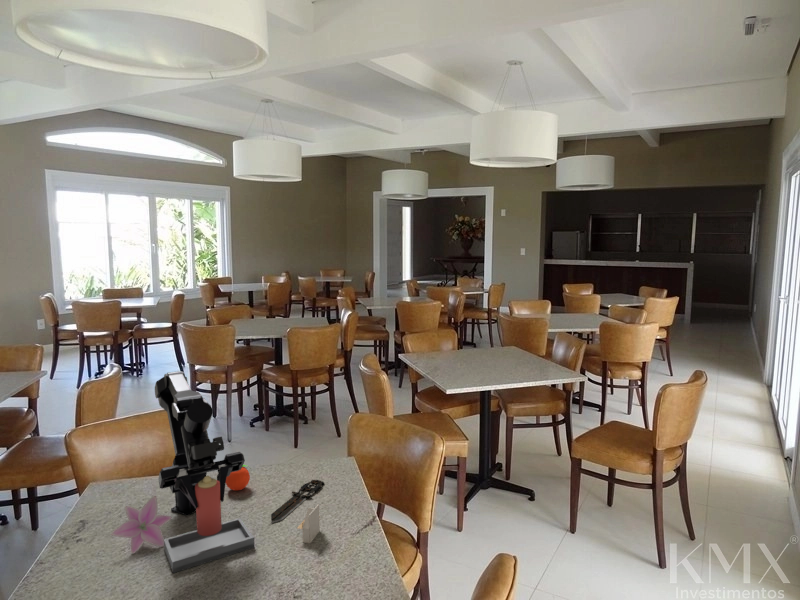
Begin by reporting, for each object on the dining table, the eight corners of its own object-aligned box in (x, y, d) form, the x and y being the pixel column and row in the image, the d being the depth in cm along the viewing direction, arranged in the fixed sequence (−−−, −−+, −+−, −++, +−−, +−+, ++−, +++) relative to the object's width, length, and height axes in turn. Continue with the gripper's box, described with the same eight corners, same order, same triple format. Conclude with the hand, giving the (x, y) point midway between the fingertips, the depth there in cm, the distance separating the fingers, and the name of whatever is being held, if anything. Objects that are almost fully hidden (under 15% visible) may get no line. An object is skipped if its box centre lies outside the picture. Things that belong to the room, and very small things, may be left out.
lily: (104, 557, 126) (108, 531, 122) (125, 515, 136) (129, 489, 132) (157, 567, 128) (163, 542, 124) (174, 525, 139) (179, 500, 134)
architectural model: (297, 543, 130) (296, 513, 130) (309, 528, 137) (308, 500, 136) (310, 545, 130) (309, 515, 129) (321, 530, 136) (321, 502, 135)
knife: (275, 527, 138) (275, 522, 138) (255, 521, 141) (255, 516, 140) (330, 486, 160) (330, 482, 160) (312, 482, 163) (311, 477, 163)
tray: (164, 549, 127) (163, 539, 127) (240, 526, 137) (240, 517, 137) (173, 573, 118) (172, 562, 118) (254, 547, 128) (254, 537, 128)
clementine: (246, 480, 164) (245, 458, 163) (257, 488, 158) (257, 465, 158) (221, 489, 158) (220, 465, 157) (232, 497, 153) (231, 473, 152)
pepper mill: (191, 532, 125) (189, 478, 123) (210, 521, 130) (207, 469, 128) (209, 538, 123) (206, 483, 121) (226, 526, 127) (224, 474, 126)
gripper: (157, 435, 121) (169, 502, 114) (241, 419, 131) (257, 480, 124) (154, 456, 129) (164, 520, 121) (233, 440, 139) (247, 498, 131)
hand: (209, 504), depth 124 cm, fingers closed on pepper mill, 5 cm apart
